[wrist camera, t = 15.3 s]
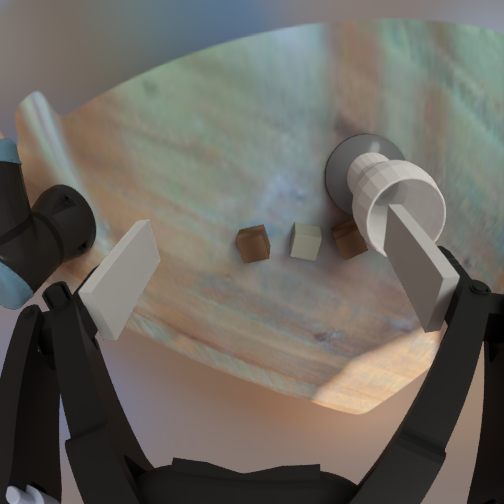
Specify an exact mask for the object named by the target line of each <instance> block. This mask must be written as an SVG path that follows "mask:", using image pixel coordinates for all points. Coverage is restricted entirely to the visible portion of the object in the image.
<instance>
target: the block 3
mask: <svg viewBox="0 0 504 504" xmlns="http://www.w3.org/2000/svg"><path fill="white" fill-rule="evenodd" d="M332 233H333V236H334V240H335V242H336V244H337V246H338V248H339V250H340V252H341V254H342V256H343V258H344V260H348V259H350V258H352V257H354V256H356V255H358V254H361V253H363V252H365V251H367V250H368V249H367V246H366V244H365V242H364V240H363V237H362V235H361V233H360V231H359V229H358V226H357V224H356V222H355V220H354V218H353V219H351V220H348V221H346V222H344V223H342V224H340V225H338V226H336V227H334V228H332Z"/></svg>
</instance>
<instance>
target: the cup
mask: <svg viewBox="0 0 504 504" xmlns="http://www.w3.org/2000/svg"><path fill="white" fill-rule="evenodd" d="M347 183H348V187H349V189H350V191H351V192H352V194H353V202H352V210H353V217H354V220H355V222H356V224H357V226H358V229H359V231H360V233H361V235H362V236H363V238H364V239H365V240H366V241H367V242H368V243H369V244H370V245H371V246H372V247H373V248H374V249H375V250H376V251H378V252H379V253H381V254H382V255H384V256H386V257H387V255H386V253H385V251H384V250H383V247H384V239H385V231H386V222H387V211H388V205H390V204H401V205H402V206H403V207H404V208H405V210H406V211H407V212H408V213H409V214H410V215H411V216H412V217H413V219H414V220H415V221H416V222H417V223H418V224H419V225H420V227H421V228H422V229H423V230H424V231H425V233H426V234H427V235H428V236H429V237H430V239H431V240H432V241H433V242H434V243H435V242H436V240H437V239H438V238H439V236H440V234H441V232H442V230H443V227H444V223H445V219H446V206H445V202H444V198H443V196H442V194H441V192H440V191H439V189H438V187H437V186H436V184H435V182H434V180H433V179H432V178H431V177H430V176H429V175H428V174H427V173H426V172H425V171H424V170H422V169H421V168H419V167H418V166H416V165H414V164H412V163H410V162H408V161H402V160H389V159H388V158H386V157H385V156H384V155H381V154H379V153H373V152H370V153H365V154H362V155H360V156H358V157H357V158H356V159H355V160H354V161H353V162H352V164H351V165H350V167H349V170H348V172H347Z"/></svg>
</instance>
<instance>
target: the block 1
mask: <svg viewBox="0 0 504 504" xmlns="http://www.w3.org/2000/svg"><path fill="white" fill-rule="evenodd" d="M236 243H237V246H238V248H239V251H240V254H241V256H242V259H243V262H244V264H245V263H250V262H255V261H260V260H265V259H269V254H270V243H269V240H268V237H267V234H266V230H265V227H264V224H263V225H259V226H254V227H250V228H246V229H241V230H240V231H239V234H238V237H237V240H236Z"/></svg>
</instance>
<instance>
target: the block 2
mask: <svg viewBox="0 0 504 504" xmlns="http://www.w3.org/2000/svg"><path fill="white" fill-rule="evenodd" d="M321 241H322V235H321V231H320V227H319V226H314V225H309V224H303V223H298V222H295V224H294V229H293V233H292V237H291V241H290V257H296V258H301V259H307V260H313V261H316V258H317V254H318V251H319V248H320V244H321Z"/></svg>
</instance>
